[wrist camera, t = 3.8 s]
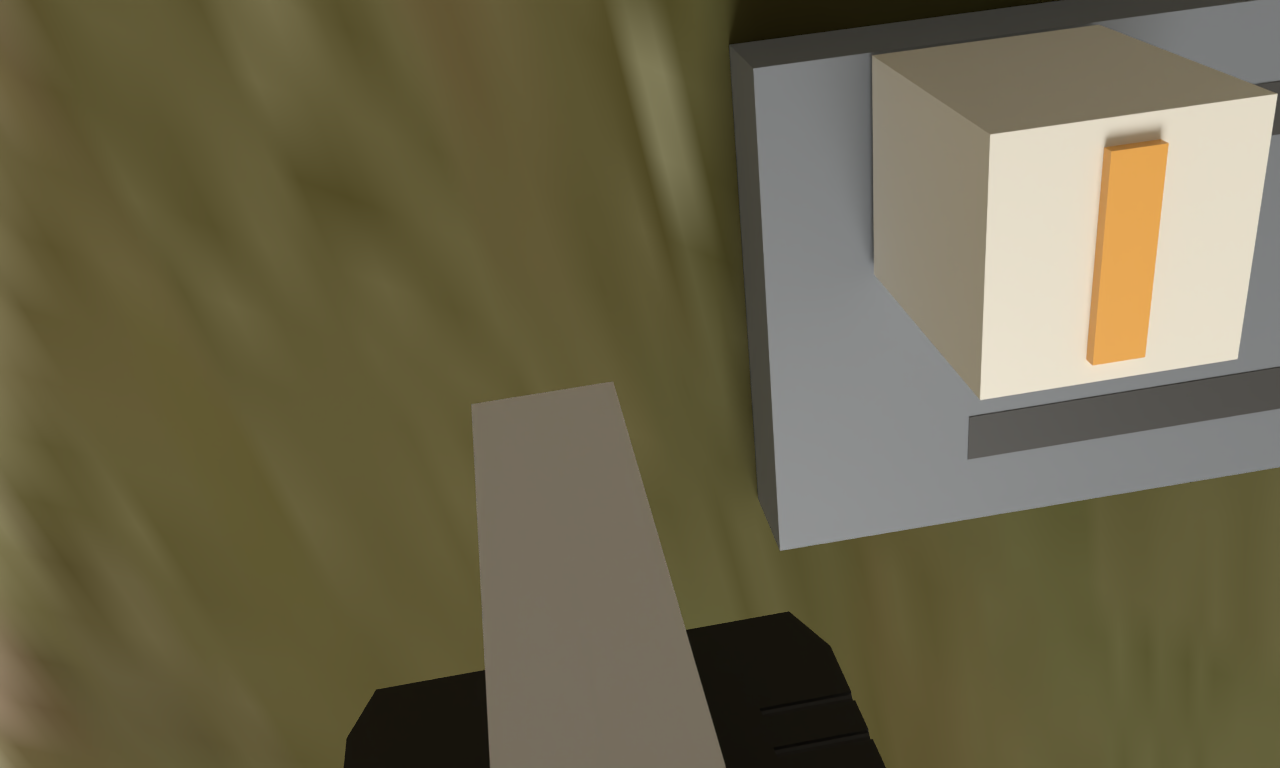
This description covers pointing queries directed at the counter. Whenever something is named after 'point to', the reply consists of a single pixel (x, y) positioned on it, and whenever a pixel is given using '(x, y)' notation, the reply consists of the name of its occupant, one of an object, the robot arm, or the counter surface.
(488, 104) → the counter surface
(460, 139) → the counter surface
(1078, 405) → the console
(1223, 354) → the fader
